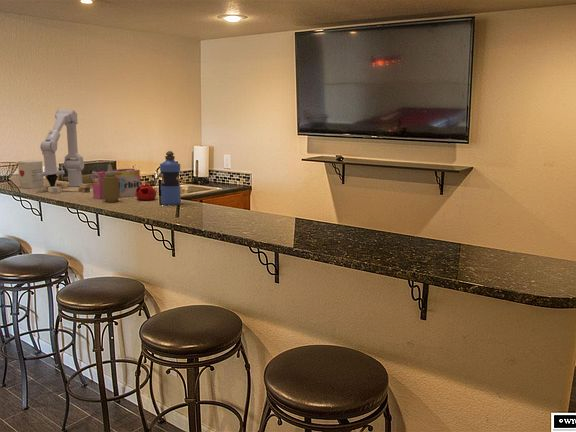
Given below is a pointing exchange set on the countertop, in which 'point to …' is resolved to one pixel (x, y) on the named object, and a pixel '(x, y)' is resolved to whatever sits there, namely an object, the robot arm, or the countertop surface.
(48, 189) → the folding leg
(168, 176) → the water bottle
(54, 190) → the stop bracket
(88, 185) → the stool seat
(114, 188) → the squeeze bottle
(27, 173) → the supplement box
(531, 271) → the countertop surface
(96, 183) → the gum box
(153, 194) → the pomegranate
